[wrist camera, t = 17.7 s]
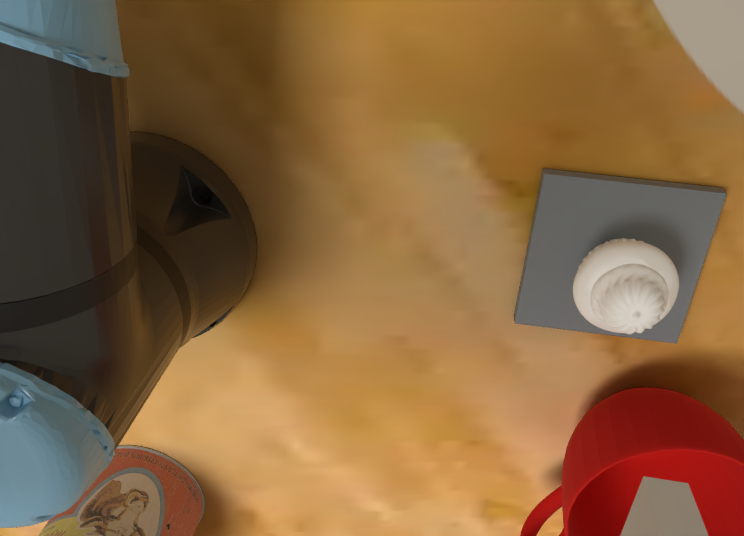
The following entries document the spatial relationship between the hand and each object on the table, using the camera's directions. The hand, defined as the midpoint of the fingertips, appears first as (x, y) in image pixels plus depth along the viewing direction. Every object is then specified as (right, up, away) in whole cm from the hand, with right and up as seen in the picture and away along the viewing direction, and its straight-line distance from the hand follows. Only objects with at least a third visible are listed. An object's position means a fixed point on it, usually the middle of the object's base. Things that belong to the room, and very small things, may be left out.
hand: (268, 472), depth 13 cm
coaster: (+18, +5, +34) cm, 38 cm away
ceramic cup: (+20, -9, +41) cm, 46 cm away
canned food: (-18, -16, +50) cm, 56 cm away
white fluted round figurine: (+18, +4, +33) cm, 38 cm away
